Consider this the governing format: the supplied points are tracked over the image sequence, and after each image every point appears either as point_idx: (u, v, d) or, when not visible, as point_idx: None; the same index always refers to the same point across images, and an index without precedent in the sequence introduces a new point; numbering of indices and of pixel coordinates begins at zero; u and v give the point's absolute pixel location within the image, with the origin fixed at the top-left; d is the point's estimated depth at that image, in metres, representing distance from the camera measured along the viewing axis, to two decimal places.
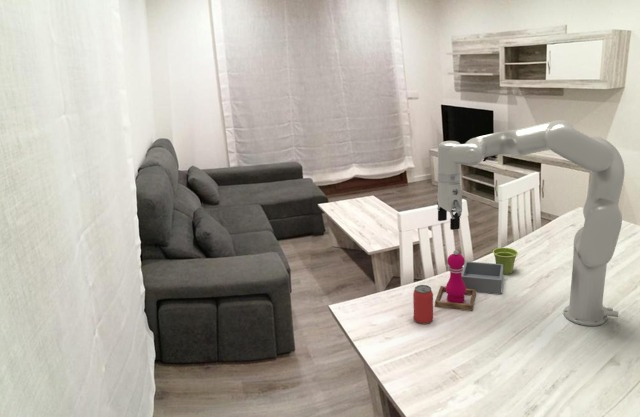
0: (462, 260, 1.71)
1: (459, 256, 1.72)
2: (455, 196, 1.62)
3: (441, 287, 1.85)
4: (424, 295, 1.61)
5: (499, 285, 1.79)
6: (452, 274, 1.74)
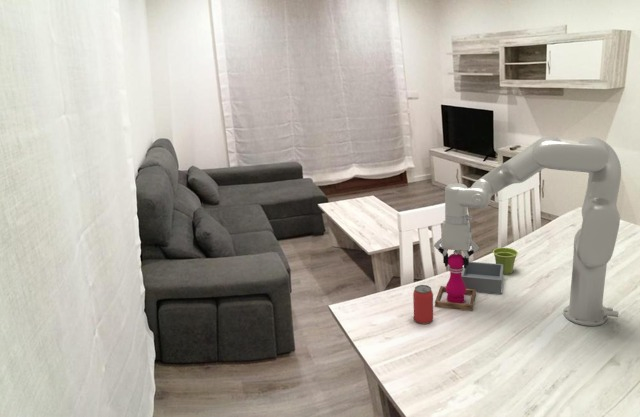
0: (462, 260, 1.71)
1: (459, 256, 1.72)
2: (470, 234, 1.69)
3: (441, 287, 1.85)
4: (424, 295, 1.61)
5: (499, 285, 1.79)
6: (452, 274, 1.74)
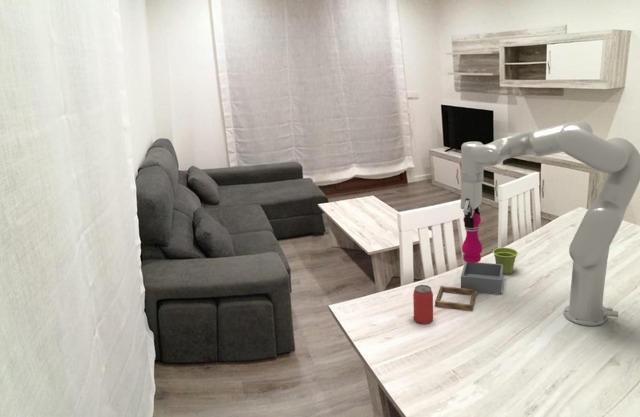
0: None
1: (475, 213, 1.76)
2: None
3: (441, 287, 1.85)
4: (424, 295, 1.61)
5: (499, 285, 1.79)
6: (475, 232, 1.75)
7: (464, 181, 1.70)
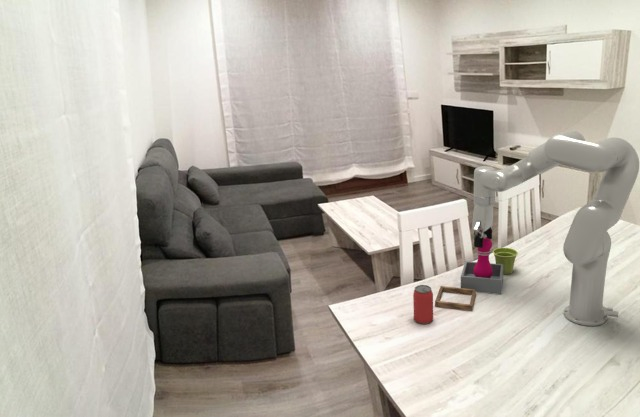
0: None
1: (487, 238, 1.84)
2: None
3: (441, 287, 1.85)
4: (424, 295, 1.61)
5: (499, 285, 1.79)
6: (487, 257, 1.84)
7: (476, 204, 1.78)
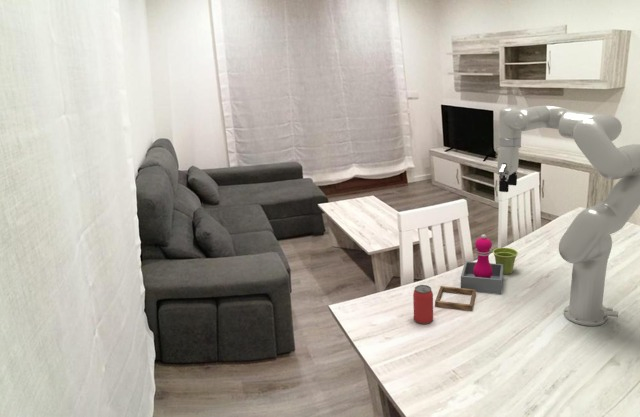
0: None
1: (486, 238, 1.84)
2: None
3: (441, 287, 1.85)
4: (424, 295, 1.61)
5: (499, 285, 1.79)
6: (486, 257, 1.84)
7: (501, 146, 1.71)
